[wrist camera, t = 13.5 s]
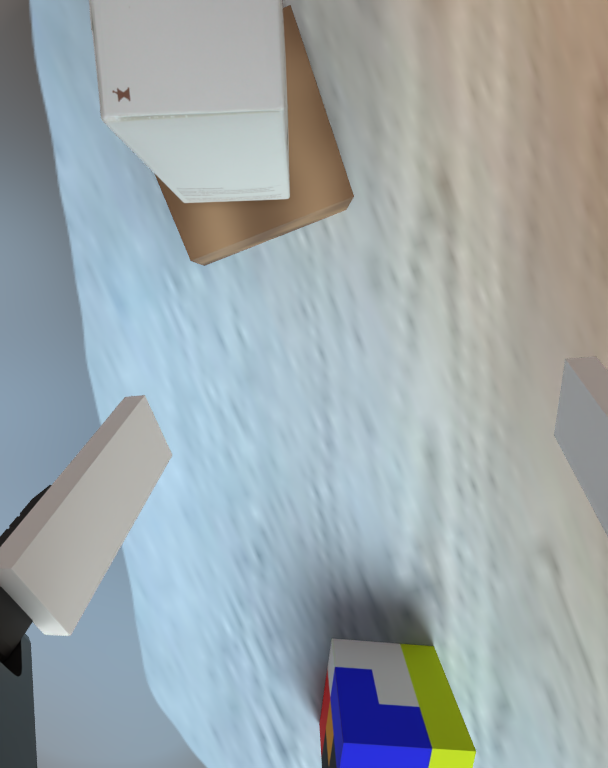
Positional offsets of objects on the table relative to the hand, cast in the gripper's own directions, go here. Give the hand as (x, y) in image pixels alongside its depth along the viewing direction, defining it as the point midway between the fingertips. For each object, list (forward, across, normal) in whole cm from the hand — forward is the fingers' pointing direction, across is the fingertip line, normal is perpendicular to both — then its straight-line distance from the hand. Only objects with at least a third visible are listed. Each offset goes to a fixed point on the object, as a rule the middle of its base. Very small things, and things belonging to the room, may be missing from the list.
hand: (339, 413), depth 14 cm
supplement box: (+20, -7, +7) cm, 23 cm away
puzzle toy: (+9, -3, -40) cm, 41 cm away
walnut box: (+25, -8, +6) cm, 27 cm away
